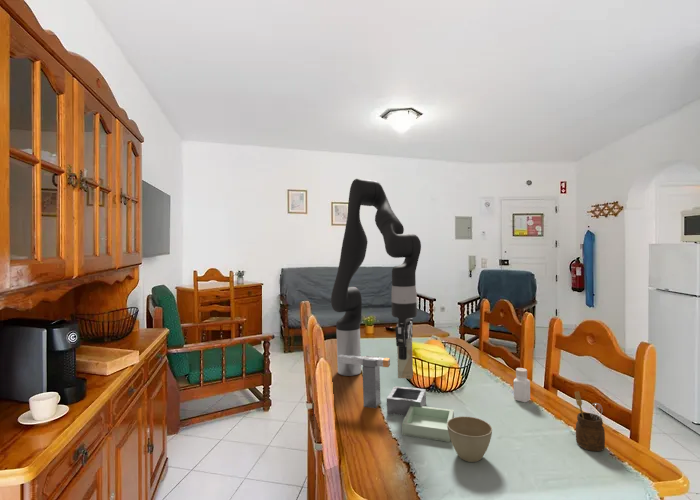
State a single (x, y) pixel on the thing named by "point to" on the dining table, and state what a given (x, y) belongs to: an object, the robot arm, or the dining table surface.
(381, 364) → the bar
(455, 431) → the flower pot
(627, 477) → the dining table surface
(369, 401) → the post
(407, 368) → the box
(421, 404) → the collar
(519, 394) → the white pill bottle
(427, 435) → the tray
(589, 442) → the utensil holder
